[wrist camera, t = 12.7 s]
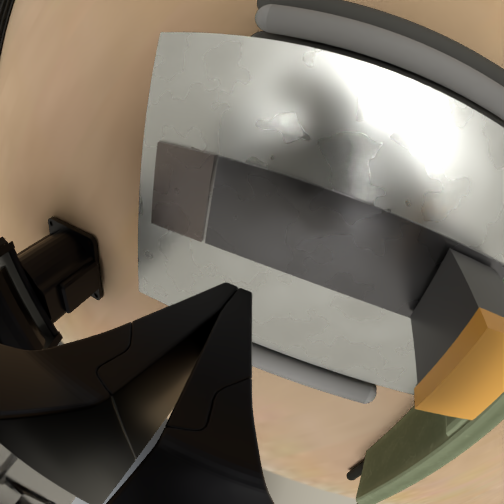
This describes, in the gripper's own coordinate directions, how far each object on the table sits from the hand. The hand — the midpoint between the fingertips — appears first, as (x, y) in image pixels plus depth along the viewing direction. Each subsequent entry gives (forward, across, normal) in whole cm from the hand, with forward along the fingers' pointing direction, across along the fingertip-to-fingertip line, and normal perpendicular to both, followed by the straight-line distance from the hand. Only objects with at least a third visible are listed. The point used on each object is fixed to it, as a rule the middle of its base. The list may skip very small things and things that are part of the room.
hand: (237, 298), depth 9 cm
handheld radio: (+8, -16, +14) cm, 23 cm away
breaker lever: (+5, -9, 0) cm, 10 cm away
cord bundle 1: (+8, -3, -9) cm, 12 cm away
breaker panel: (+8, -4, 0) cm, 9 cm away
